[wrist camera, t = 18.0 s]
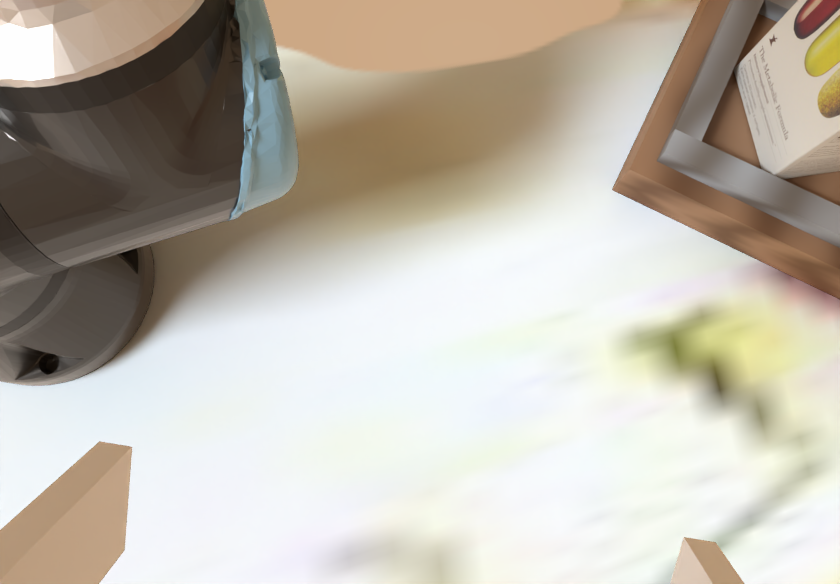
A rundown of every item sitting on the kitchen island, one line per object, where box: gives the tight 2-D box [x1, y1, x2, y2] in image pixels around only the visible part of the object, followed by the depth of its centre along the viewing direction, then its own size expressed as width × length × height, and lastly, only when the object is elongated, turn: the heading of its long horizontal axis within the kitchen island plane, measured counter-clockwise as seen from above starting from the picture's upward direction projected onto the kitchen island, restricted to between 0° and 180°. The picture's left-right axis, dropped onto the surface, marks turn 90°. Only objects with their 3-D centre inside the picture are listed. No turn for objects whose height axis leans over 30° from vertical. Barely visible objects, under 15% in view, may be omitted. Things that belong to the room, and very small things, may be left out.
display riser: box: [612, 0, 840, 299], centre depth 50 cm, size 20×20×6 cm
